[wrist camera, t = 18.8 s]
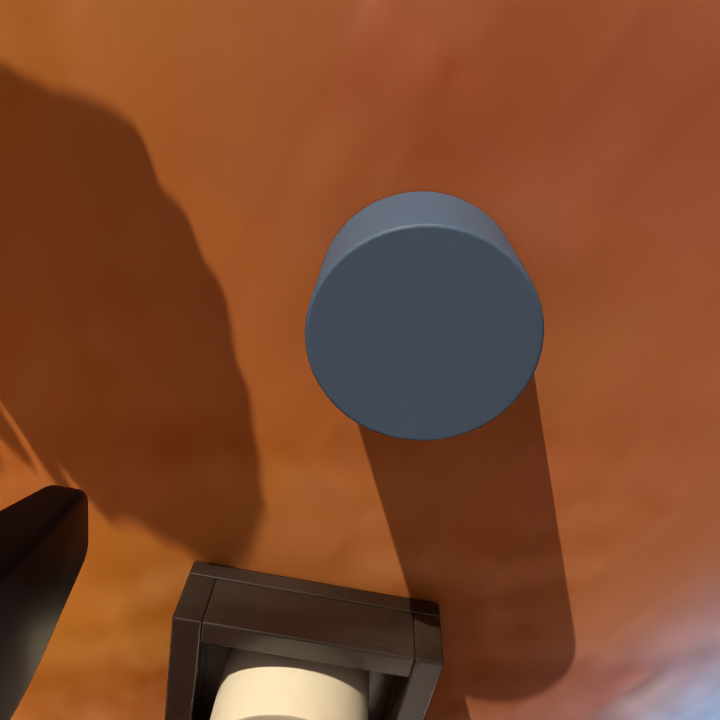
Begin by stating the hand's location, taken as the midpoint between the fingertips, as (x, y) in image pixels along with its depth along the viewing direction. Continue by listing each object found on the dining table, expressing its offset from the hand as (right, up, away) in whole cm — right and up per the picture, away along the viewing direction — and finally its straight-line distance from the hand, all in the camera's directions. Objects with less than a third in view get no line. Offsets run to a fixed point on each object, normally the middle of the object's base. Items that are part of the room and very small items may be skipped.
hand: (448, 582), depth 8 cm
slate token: (0, +5, +9) cm, 10 cm away
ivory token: (-3, -9, +15) cm, 18 cm away
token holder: (-4, -12, +17) cm, 21 cm away
